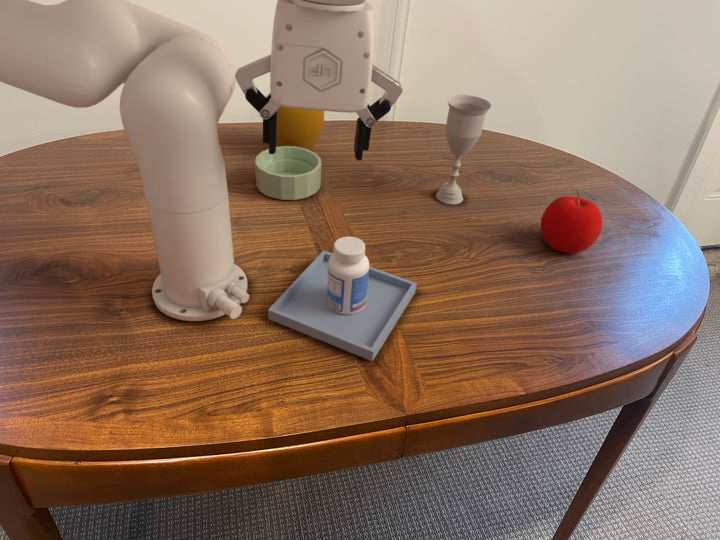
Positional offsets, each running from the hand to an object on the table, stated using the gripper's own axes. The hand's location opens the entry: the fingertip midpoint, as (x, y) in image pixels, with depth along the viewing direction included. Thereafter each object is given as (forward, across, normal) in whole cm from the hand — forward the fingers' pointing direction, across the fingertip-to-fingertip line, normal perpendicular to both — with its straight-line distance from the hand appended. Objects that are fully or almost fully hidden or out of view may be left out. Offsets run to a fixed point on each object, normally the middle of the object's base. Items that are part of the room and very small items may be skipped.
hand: (315, 151), depth 61 cm
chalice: (+22, +26, +29) cm, 45 cm away
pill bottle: (+22, +6, -1) cm, 23 cm away
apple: (+23, -2, +45) cm, 51 cm away
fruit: (+21, +43, +14) cm, 50 cm away
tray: (+22, +5, -1) cm, 23 cm away
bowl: (+23, -3, +31) cm, 39 cm away
